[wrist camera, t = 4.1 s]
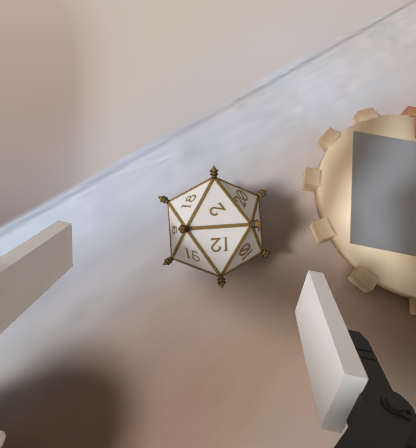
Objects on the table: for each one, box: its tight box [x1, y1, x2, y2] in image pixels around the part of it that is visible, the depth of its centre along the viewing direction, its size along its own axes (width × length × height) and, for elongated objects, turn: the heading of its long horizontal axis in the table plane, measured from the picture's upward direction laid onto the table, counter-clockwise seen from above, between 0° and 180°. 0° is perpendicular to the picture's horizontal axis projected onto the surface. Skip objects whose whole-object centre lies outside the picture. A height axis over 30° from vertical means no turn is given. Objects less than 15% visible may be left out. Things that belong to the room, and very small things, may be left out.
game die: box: [158, 166, 272, 288], centre depth 24 cm, size 9×8×10 cm
